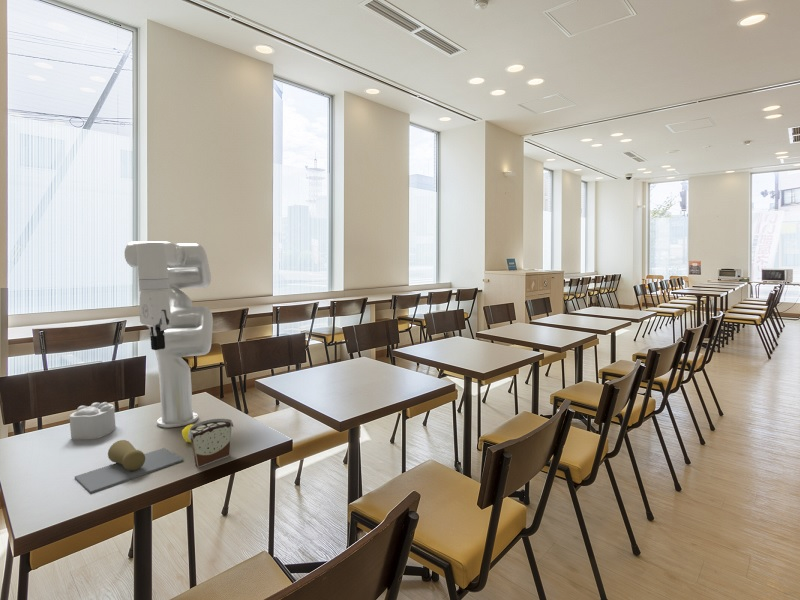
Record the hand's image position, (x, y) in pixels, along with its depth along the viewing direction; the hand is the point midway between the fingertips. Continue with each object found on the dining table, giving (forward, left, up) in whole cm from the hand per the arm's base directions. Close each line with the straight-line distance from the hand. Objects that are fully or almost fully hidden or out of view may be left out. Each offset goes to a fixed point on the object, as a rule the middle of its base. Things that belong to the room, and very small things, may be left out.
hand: (158, 349), depth 133 cm
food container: (+18, +4, -29) cm, 35 cm away
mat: (+8, -12, -29) cm, 32 cm away
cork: (+1, -12, -26) cm, 29 cm away
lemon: (+3, +7, -29) cm, 30 cm away
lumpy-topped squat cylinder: (-30, -8, -29) cm, 43 cm away
